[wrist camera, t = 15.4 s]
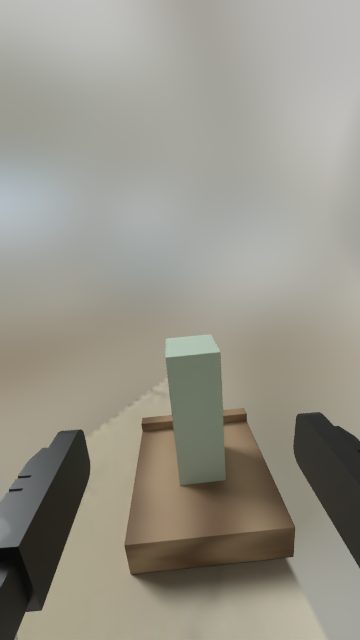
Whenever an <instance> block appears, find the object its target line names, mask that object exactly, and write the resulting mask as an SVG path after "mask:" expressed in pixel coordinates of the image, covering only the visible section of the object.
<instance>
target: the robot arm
mask: <svg viewBox="0 0 360 640" xmlns="http://www.w3.org/2000/svg"><path fill="white" fill-rule="evenodd" d="M294 455H295V458H296V461H297V463H298V465H299V467H300V469H301V470H302V472H303V474H304V475H305V477H306V479H307V481H308V482H309V484H310V486H311V487H312V489H313V491H314V492H315V494H316V496H317V497H318V499H319V501H320V502H321V504H322V506H323V507H324V509H325V511H326V512H327V514H328V516H329V517H330V519H331V521H332V522H333V524H334V525H335V527H336V529H337V531H338V532H339V534H340V536H341V537H342V539H343V541H344V542H345V544H346V546H347V547H348V549H349V551H350V553H351V554H352V556H353V558H354V559H355V561H356V563H357V564H358V566H359V568H360V441H359V440H358V439H357V438H356V437H355V436H354V435H352V434H350V433H349V432H347V431H346V430H344V429H342V428H341V427H339V426H333V425H332V424H331V423H330V421H329V420H328V419H327V418H326V417H325V416H324V415H323V414H322V413H320V412H316V413H303V414H298V415H297V417H296V425H295V436H294ZM89 475H90V459H89V455H88V450H87V445H86V440H85V436H84V432H83V431H82V430H70V431H69V430H68V431H60V432H59V433H58V434H57V435H56V437H55V438H54V440H53V442H52V443H51V445H50V446H49V448H42V449H41V450H40V451H39V452H38V453H37V454H36V455H35V456H33V457H32V458H31V459H30V460H29V461H28V462H27V464H26V465H25V467H24V468H23V470H22V471H21V473H20V474H19V475H18V479H16V480H15V481H14V483H13V484H12V486H11V487H10V489H9V492H8V493H6V495H5V496H4V497H3V499H2V500H1V502H0V640H18V637H17V631H18V629H19V626H20V624H21V621H22V619H23V616H24V614H25V612H30V611H41V610H42V608H43V605H44V602H45V600H46V597H47V594H48V591H49V589H50V586H51V583H52V580H53V577H54V575H55V572H56V569H57V566H58V564H59V561H60V558H61V555H62V552H63V550H64V547H65V544H66V541H67V538H68V536H69V533H70V530H71V527H72V525H73V522H74V519H75V516H76V513H77V511H78V508H79V505H80V502H81V500H82V497H83V494H84V491H85V488H86V486H87V483H88V480H89Z"/></svg>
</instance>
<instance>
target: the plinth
mask: <svg viewBox="0 0 360 640" xmlns="http://www.w3.org/2000/svg"><path fill="white" fill-rule="evenodd" d="M223 425H224V448H225V471H226V480H223V481H214V482H206V483H197V484H188V485H180V482H179V473H178V464H177V455H176V446H175V437H174V428H173V419H172V415H169V416H159V417H148V418H143V419H142V430H143V433H142V439H141V445H140V451H139V458H138V464H137V470H136V476H135V483H134V489H133V495H132V501H131V508H130V514H129V520H128V526H127V533H126V539H125V550H126V555H127V560H128V564H129V569H130V574H137V573H146V572H156V571H165V570H174V569H184V568H193V567H202V566H212V565H221V564H230V563H240V562H249V561H258V560H268V559H277V558H287V557H293V554H294V537H295V526H294V524H293V521H292V519H291V517H290V515H289V513H288V511H287V508H286V506H285V504H284V502H283V500H282V497H281V495H280V493H279V491H278V489H277V487H276V485H275V482H274V480H273V478H272V476H271V473H270V471H269V469H268V467H267V465H266V463H265V460H264V458H263V456H262V454H261V451H260V449H259V447H258V445H257V443H256V441H255V438H254V436H253V434H252V432H251V430H250V427H249V425H248V423H247V414H246V411H245V410H244V408H240V409H231V410H223Z"/></svg>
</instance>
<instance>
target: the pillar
mask: <svg viewBox="0 0 360 640" xmlns="http://www.w3.org/2000/svg"><path fill="white" fill-rule="evenodd" d="M166 365H167V374H168V383H169V392H170V401H171V410H172V419H173V428H174V437H175V446H176V455H177V464H178V473H179V482H180V485H188V484H197V483H206V482H214V481H223V480H226V471H225V448H224V425H223V404H222V403H223V402H222V380H221V356H220V351H219V349H218V347H217V345H216V343H215V341H214V340H213V338H212V336H211V335H210V334H209V335H199V336H190V337H179V338H169V339H166Z"/></svg>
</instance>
